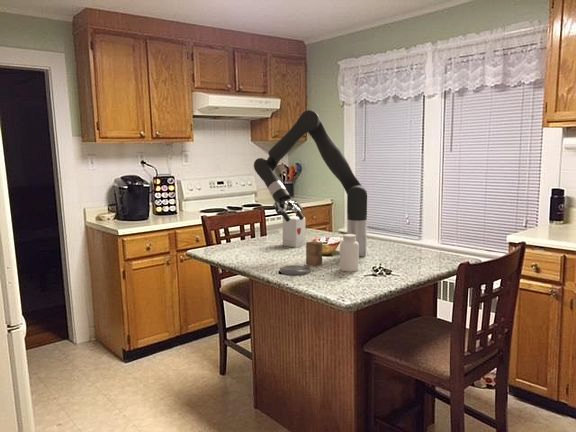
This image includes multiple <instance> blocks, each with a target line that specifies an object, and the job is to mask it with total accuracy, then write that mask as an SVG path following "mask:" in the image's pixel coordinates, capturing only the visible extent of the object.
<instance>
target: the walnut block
mask: <svg viewBox="0 0 576 432" xmlns="http://www.w3.org/2000/svg"><path fill="white" fill-rule="evenodd" d="M305 253H306V254H305V255H306V256H305V261H306V262H305V266H307V265H308V266H310V267H318V266H321V265H322V266H323V242H321V241H317V240H312V241H307V242H306V241H305Z"/></svg>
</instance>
